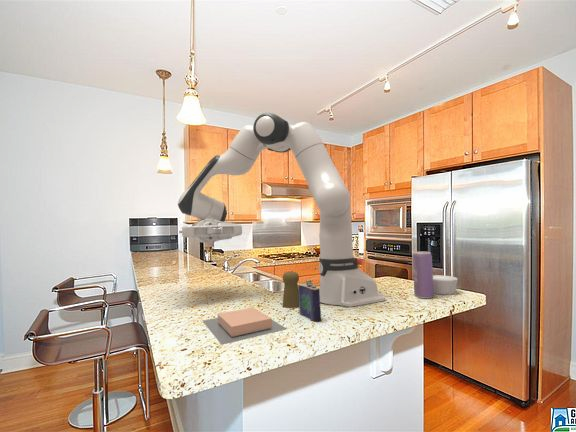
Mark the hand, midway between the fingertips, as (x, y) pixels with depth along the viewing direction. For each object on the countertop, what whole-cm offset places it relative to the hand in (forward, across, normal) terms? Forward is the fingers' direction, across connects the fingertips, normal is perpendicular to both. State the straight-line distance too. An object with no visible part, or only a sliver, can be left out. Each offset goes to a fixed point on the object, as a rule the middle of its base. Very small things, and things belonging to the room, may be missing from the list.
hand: (218, 230), depth 91 cm
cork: (+13, +19, +25) cm, 34 cm away
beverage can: (+29, +61, +25) cm, 72 cm away
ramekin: (+28, +72, +25) cm, 81 cm away
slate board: (+20, 0, +25) cm, 32 cm away
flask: (+26, +18, +25) cm, 40 cm away
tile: (+16, 0, +23) cm, 28 cm away
